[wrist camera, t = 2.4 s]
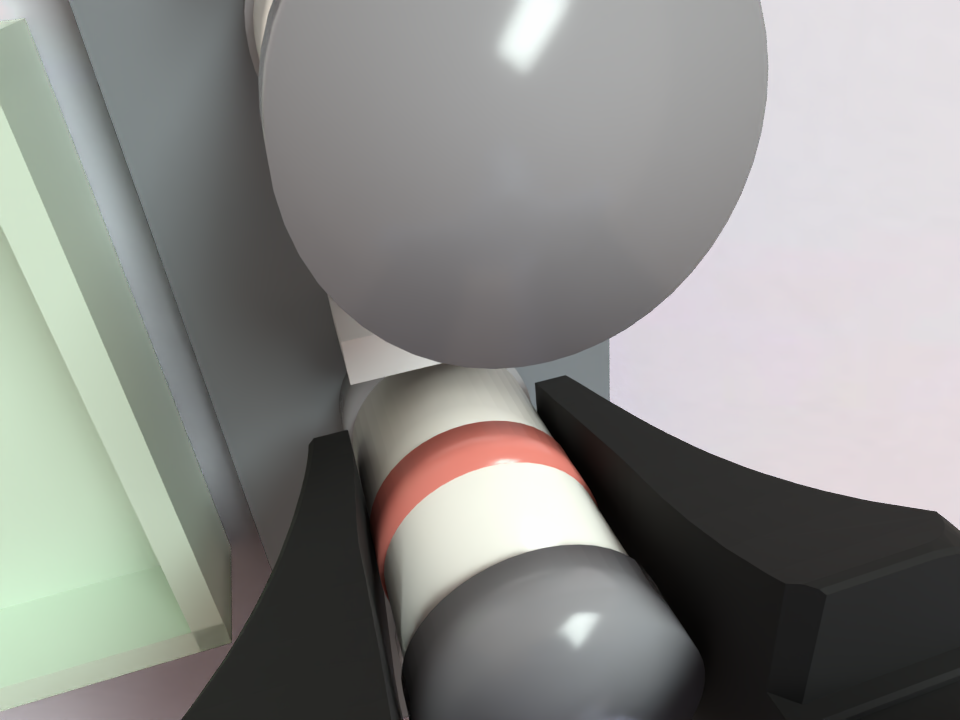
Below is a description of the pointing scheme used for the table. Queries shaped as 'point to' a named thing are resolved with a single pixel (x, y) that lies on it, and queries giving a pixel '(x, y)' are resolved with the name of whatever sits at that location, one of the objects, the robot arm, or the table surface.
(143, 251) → the table surface
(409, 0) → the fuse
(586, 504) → the marked fuse
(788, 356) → the table surface
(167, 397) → the tray
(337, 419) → the clip board
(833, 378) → the table surface
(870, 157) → the table surface
